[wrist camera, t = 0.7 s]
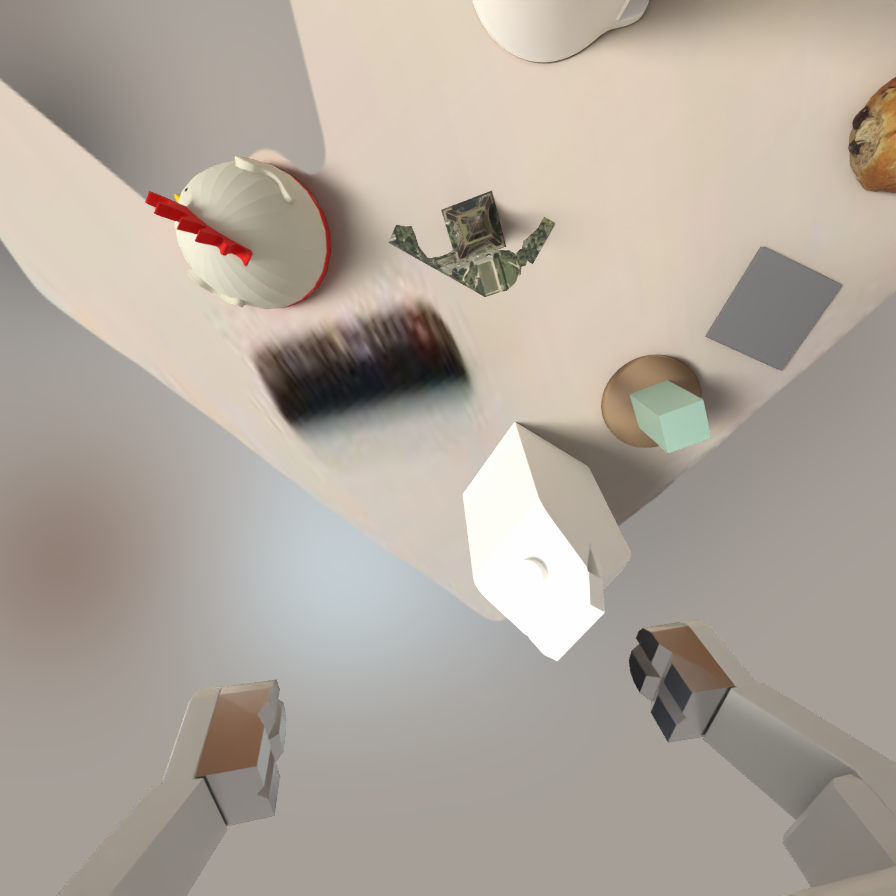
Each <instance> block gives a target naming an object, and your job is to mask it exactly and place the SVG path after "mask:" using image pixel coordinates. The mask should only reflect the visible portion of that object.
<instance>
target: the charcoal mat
mask: <svg viewBox="0 0 896 896" xmlns="http://www.w3.org/2000/svg"><path fill="white" fill-rule="evenodd" d="M841 286H842V285H841V284H839V283H837V282H835V281H833V280H831V279H829V278H827V277H825V276H822V275H820V274H818V273H816V272H814V271H812V270H810V269H808V268H806V267H804V266H802V265H800V264H798V263H796V262H794V261H792V260H790V259H788V258H786V257H784V256H782V255H780V254H778V253H776V252H774V251H772V250H770V249H768V248H766V247H760V249H759V250H758V252H757V254H756V255H755V257H754V259H753V260H752V262H751V263H750V265H749V267H748V268H747V270H746V271H745V273H744V275H743V276H742V278H741V280H740V281H739V283H738V284H737V286H736V288H735V289H734V291H733V293H732V294H731V296H730V297H729V299H728V301H727V302H726V304H725V305H724V307H723V309H722V310H721V312H720V314H719V315H718V317H717V318H716V320H715V322H714V323H713V325H712V327H711V328H710V330H709V331H708V333H707V335H706V336H705V337H708V338H710V339H712V340H714V341H717V342H719V343H721V344H723V345H725V346H728V347H730V348H732V349H734V350H736V351H739V352H741V353H743V354H745V355H748V356H750V357H752V358H754V359H756V360H759V361H761V362H763V363H765V364H767V365H770V366H772V367H774V368H776V369H779V370H783V368H784V367H785V365H786V364H787V363H788V361H789V360H790V358H791V357H792V355H793V354H794V353H795V351H796V350H797V348H798V347H799V346H800V344H801V343H802V341H803V340H804V338H805V337H806V336H807V334H808V333H809V331H810V330H811V328H812V327H813V326H814V324H815V323H816V321H817V320H818V319H819V317H820V316H821V314H822V313H823V311H824V310H825V309H826V307H827V306H828V304H829V303H830V301H831V300H832V299H833V297H834V296H835V294H836V293H837V292H838V290H839V289H840V287H841Z"/></svg>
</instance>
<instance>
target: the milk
mask: <svg viewBox="0 0 896 896" xmlns="http://www.w3.org/2000/svg"><path fill="white" fill-rule="evenodd" d="M463 500H464V508H465V516H466V524H467V531H468V539H469V547H470V555H471V563H472V571H473V579H474V582H475V584H476V586H477V588H478V589H479V591H480V592H481V593H482V594H483V595H484V596H485V597H486V598H487V599H488V600H489V601H490V602H491V603H492V604H493V605H494V606H495V607H496V608H497V609H498V610H499V611H501V612H502V613H503V614H504V615H505V616H506V617H507V618H508V619H509V620H510V621H511V622H512V623H514V624H515V625H516V626H517V627H518V628H519V629H520V630H521V631H522V632H523V633H524V634H525V635H528V636H529V639H530V640H531V641H532V642H533V643H534V644H535V645H536V646H537V647H538V649H539V650H540V651H541V652H542V653H543V654H544V655H546V656H548V657H550V658H552V659H554V660H556V661H558V660H559V659H560V658H561V657H562V656H563V655H564V654H565V653H566V652H567V650H569V648H570V647H571V646H572V645H573V644H574V643H575V642H576V641H577V640H578V639H579V638H580V637H581V636H582V635H583V634H584V633H585V632H586V631H587V630H588V629H589V628H590V627H591V626H592V625H593V624H594V623H595V622H596V621H597V620H598V619H599V618H600V617H601V615H603V614H604V613H605V610H604V595H603V590H604V589H605V588H606V587H607V586H608V585H609V584H610V583H611V582H612V581H613V580H614V579H615V578H616V577H617V576H618V575H619V573H620V572H621V571H622V570H623V569H624V568H625V566H626V565H627V563H628V561H629V560H630V558H631V552H630V549H629V547H628V545H627V543H626V541H625V539H624V537H623V535H622V533H621V531H620V529H619V527H618V525H617V523H616V521H615V519H614V517H613V515H612V513H611V511H610V509H609V507H608V505H607V503H606V501H605V499H604V497H603V495H602V493H601V491H600V489H599V487H598V485H597V483H596V481H595V479H594V477H593V474H592V472H591V470H590V468H589V467H588V466H587V465H585V464H583V463H582V462H580V461H579V460H577V459H575V458H574V457H572V456H570V455H569V454H567V453H565V452H564V451H562V450H560V449H559V448H557V447H556V446H554V445H552V444H551V443H549V442H547V441H546V440H544V439H542V438H541V437H539V436H538V435H536V434H534V433H533V432H531V431H529V430H528V429H526V428H524V427H523V426H521V425H519V424H518V423H516V422H514V424H513V425H512V426H511V428H510V429H509V431H508V432H507V433H506V435H505V436H504V438H503V439H502V440H501V442H500V443H499V445H498V446H497V447H496V449H495V450H494V451H493V453H492V454H491V456H490V457H489V458H488V460H487V461H486V463H485V464H484V465H483V467H482V468H481V470H480V471H479V472H478V474H477V475H476V477H475V478H474V479H473V481H472V482H471V484H470V485H469V486H468V488H467V489H466V491H465V492H464V493H463Z"/></svg>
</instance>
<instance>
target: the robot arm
mask: <svg viewBox="0 0 896 896" xmlns="http://www.w3.org/2000/svg"><path fill="white" fill-rule="evenodd" d="M472 1H473V4H474V7H475V9H476V12H477V14H478V16H479V18H480V20H481V22H482V24H483V26H484V27H485V29H486V30H487V32H488V33H489V34H490V36H491V37H492V38H493V39H494V40H495V41H496V42H497V43H498V44H499V45H500V46H501V47H502V48H504V49H505V50H506V51H508V52H509V53H511V54H513V55H515V56H517V57H519V58H522V59H525V60H528V61H533V62H553V61H558V60H562V59H565V58H567V57H570V56H572V55H574V54H576V53H578V52H579V51H581V50H583V49H584V48H586V47H587V46H588V45H589V44H591V43H592V42H593V41H594V40H596V39H597V38H598V37H599V36H601V35H602V34H603V33H605V32H607V31H608V30H612V29H616V28H620V27H624V26H627V25H630V24H632V23H634V22H636V21H637V20H639V19H640V18H641V17H642V15H643V13H644V11H645V10H646V8H647V6H648V3H649V0H472ZM636 639H637V641H638V642H639V645H637V646H636V647H635V648H634V649H633V650H632V651H631V654H630V658H629V666H630V673H631V676H632V678H633V681H634V683H635V685H636V687H637V689H638V691H639V692H640V693H641V694H642V695H643V696H645V697H646V698H647V699H649V700H650V701H651V714H652V715H653V717H654V719H655V721H656V722H657V724H658V726H659V727H660V729H661V731H662V733H663V735H664V736H665V738H666V740H667V741H668V742H674V741H681V740H687V739H693V738H700V737H704V738H703V740H704V741H705V742H706V743H708V744H709V745H710V746H711V747H712V748H713V749H715V750H716V751H717V752H718V753H719V754H720V755H721V756H723V757H724V758H725V759H726V760H727V761H728V762H730V763H731V764H732V765H733V766H734V767H735V768H736V769H738V770H739V771H740V772H741V773H742V774H743V775H745V776H746V777H747V778H748V779H749V780H751V782H753V783H754V784H755V785H756V786H757V787H759V788H760V789H761V790H762V791H763V792H764V793H766V794H767V795H768V796H769V797H770V798H771V799H773V801H775V802H776V803H777V804H778V805H779V806H780V807H782V808H783V809H784V810H785V811H786V812H787V813H788V814H790V815H791V816H792V817H793V818H794V819H796V821H795V822H794V823H793V824H792V825H791V827H790V828H789V829H788V830H787V831H786V832H785V833H784V835H783V844H784V845H785V847H786V849H787V850H788V852H789V854H790V855H791V857H792V858H793V860H794V861H795V863H796V864H797V866H798V867H799V869H800V870H801V872H802V873H803V875H804V877H805V878H806V880H807V881H808V883H809V884H810V886H811V888H808V889H804V890H801V891H797V892H793V893H789V894H785V895H781V896H896V763H895V762H893V761H892V760H890V759H888V758H887V757H885V756H884V755H882V754H880V753H878V752H877V751H875V750H873V749H872V748H870V747H869V746H867V745H865V744H864V743H862V742H860V741H859V740H857V739H856V738H854V737H852V736H851V735H849V734H847V733H846V732H844V731H842V730H841V729H839V728H837V727H836V726H834V725H833V724H831V723H829V722H828V721H826V720H824V719H823V718H821V717H819V716H817V715H816V714H815V713H813V712H811V711H810V710H808V709H806V708H805V707H803V706H801V705H800V704H798V703H796V702H795V701H793V700H792V699H790V698H788V697H787V696H785V695H783V694H781V693H780V692H778V691H777V690H775V689H773V688H772V687H770V686H769V685H767V684H765V683H757V682H756V680H755V679H754V678H753V677H752V676H751V674H750V673H749V672H748V671H747V670H746V668H745V667H744V666H743V665H742V664H741V663H740V661H739V660H738V659H737V657H736V656H735V655H734V654H733V653H732V651H731V650H730V649H729V648H728V647H727V645H726V644H725V643H724V642H723V640H722V639H721V638H720V637H719V636H718V634H717V633H716V632H715V631H714V630H713V628H712V627H711V626H710V625H709V624H708V623H706V622H705V621H703V620H694V621H688V622H681V623H680V622H677V623H671V624H665V625H658V626H652V627H646V628H642V629H641V630H639V632H638V634H637V637H636ZM279 691H280V688H279V686H278V682H277V680H270V681H262V682H255V683H247V684H239V685H232V686H222V687H214V688H207V689H200V690H196V691H195V692H194V694H193V696H192V697H191V699H190V701H189V704H188V706H187V709H186V712H185V715H184V718H183V721H182V724H181V727H180V730H179V733H178V736H177V739H176V742H175V745H174V748H173V751H172V754H171V756H170V759H169V762H168V765H167V768H166V771H165V774H164V777H163V780H162V783H161V785H157V786H152V787H151V788H150V789H149V790H148V792H147V793H146V794H145V795H144V796H143V797H142V798H141V799H140V801H139V802H138V803H137V804H136V805H135V806H134V807H133V809H132V810H131V811H130V812H129V813H128V814H127V815H126V817H125V818H124V819H123V820H122V821H121V822H120V823H119V825H118V826H117V827H116V828H115V829H114V830H113V831H112V833H111V834H110V835H109V836H108V837H107V838H106V839H105V840H104V842H103V843H102V844H101V845H100V846H99V847H98V849H97V850H96V851H95V852H94V853H93V854H92V855H91V856H90V857H89V859H88V860H87V861H86V862H85V863H84V864H83V865H82V867H81V868H80V869H79V870H78V871H77V872H76V873H75V875H74V876H73V877H72V878H71V879H70V880H69V882H67V884H66V885H65V886H64V887H63V888H62V889H61V890H60V892H59V893H58V894H57V895H56V896H187V894H188V893H189V891H190V889H191V888H192V886H193V885H194V883H195V881H196V880H197V878H198V876H199V875H200V873H201V872H202V870H203V868H204V867H205V865H206V863H207V862H208V860H209V859H210V857H211V855H212V854H213V852H214V851H215V849H216V847H217V846H218V844H219V843H220V841H221V839H222V838H223V836H224V834H225V833H226V831H227V827H226V826H230V825H235V824H239V823H244V822H249V821H253V820H258V819H263V818H267V817H272V816H275V809H276V801H277V794H278V788H279V781H280V774H279V771H278V768H277V764H276V761H277V760H278V759H279V757H280V756H281V754H282V753H283V751H284V744H285V735H286V732H285V731H286V715H285V707H284V703H283V702H282V701H280V700H279V699H278V698H279Z"/></svg>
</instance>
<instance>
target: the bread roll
mask: <svg viewBox="0 0 896 896" xmlns="http://www.w3.org/2000/svg"><path fill="white" fill-rule="evenodd" d="M848 149H849V151H850V165H851V167H852V169H853V171H854V173H855V174H856V176H857V180H859V182H860V183H861V184H862V186H863V187H864V188H865V189H866V190H871V191H876V192H877V191H885V192H893V193H896V77H895V78H893V79H892V80H891V81H889V82H888V83H887V84H885V85H884V86H883V87H882V88H880V89H879V90H878V91H877V93H876V94H875V95H873V96H872V97H871V99H870V100H869V102H868V103H867V105H866V106H865V108H863V109H862V110H861V111H860V112H859V113H858V114H857V115H856V116H855V118H854V120H853V129H852V131H851V133H850V137H849V148H848Z"/></svg>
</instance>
